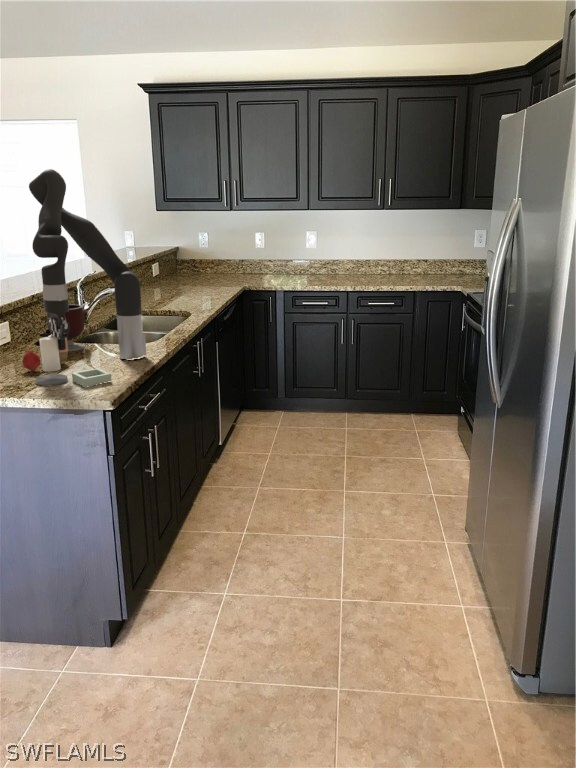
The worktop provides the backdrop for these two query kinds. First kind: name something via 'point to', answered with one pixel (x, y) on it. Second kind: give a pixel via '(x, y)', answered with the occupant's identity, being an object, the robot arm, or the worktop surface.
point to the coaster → (51, 379)
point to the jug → (51, 353)
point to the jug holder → (91, 377)
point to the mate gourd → (74, 326)
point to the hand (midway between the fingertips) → (60, 348)
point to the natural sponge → (63, 356)
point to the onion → (31, 360)
